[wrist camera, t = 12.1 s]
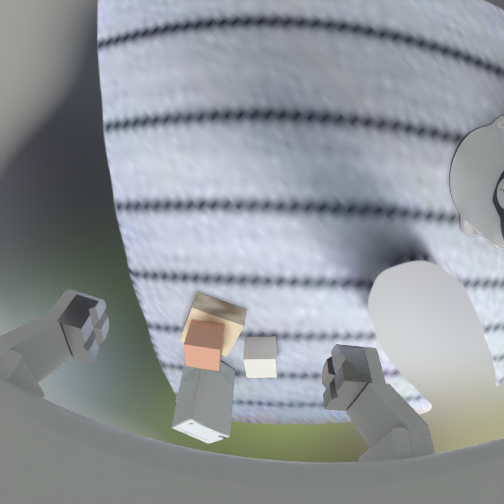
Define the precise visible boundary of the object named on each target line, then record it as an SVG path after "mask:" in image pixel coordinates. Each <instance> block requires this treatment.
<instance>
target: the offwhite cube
mask: <svg viewBox="0 0 504 504" xmlns="http://www.w3.org/2000/svg"><path fill="white" fill-rule="evenodd" d="M244 365H245V371H246V376H247V378H267V377H277V346H276V336H273V337H246V341H245V350H244Z"/></svg>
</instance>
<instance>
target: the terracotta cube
mask: <svg viewBox="0 0 504 504" xmlns="http://www.w3.org/2000/svg"><path fill="white" fill-rule="evenodd" d="M224 330H225V324H219V323H212V322H206V321H199V320H192V319H191V322H190V325H189V329H188V332H187V335H186V338H185V342H184V354H185V366H189V367H195V368H202V369H208V370H215V371H219V368H220V363H221V357H222V351H223V345H224Z"/></svg>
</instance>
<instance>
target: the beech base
mask: <svg viewBox="0 0 504 504" xmlns="http://www.w3.org/2000/svg"><path fill="white" fill-rule="evenodd" d="M245 316H246V309H243V308H240V307H237V306H235V305H232V304H229V303H226V302H223V301H221V300H218V299H215V298H212V297H209V296H207V295H204V294H201V293H199V292H197V294H196V296H195V299H194V301H193V304H192V307H191V309H190V312H189V315H188V317H187V320H186V323H185V326H184V329H183V332H182V335H181V338H180V341H181V342H185V338H186V335H187V332H188V329H189V325H190V322H191V319H192V320H199V321H206V322H212V323H219V324H225V330H224V345H223V351H222V356H226V357H227V355H228V353H229V352H230V350H231V348H232V347H233V345H234V343H235V341H236V340H237V338H238V336H239V334H240V333H241V331H242V329H243V328H244V325H245Z"/></svg>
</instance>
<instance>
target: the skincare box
mask: <svg viewBox="0 0 504 504" xmlns="http://www.w3.org/2000/svg"><path fill="white" fill-rule="evenodd" d="M234 376H235V370H234V369H232V368H231V367H229V366H227V365H226V364H224V363H223V362H221V363H220V368H219V371H215V370H208V369H202V368H195V367H189V366H185V364H184V369H183V374H182V378H181V383H180V388H179V393H178V398H177V403H176V408H175V414H174V419H173V425H172V428H174V429H176V430H178V431H180V432H183V433H185V434H187V435H190V436H192V437H194V438H197V439H199V440H202V441H204V442H206V443H212V442H215V441H218V440H221V439H224V438H227V437H229V436H230V428H231V414H232V401H233V388H234Z"/></svg>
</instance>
